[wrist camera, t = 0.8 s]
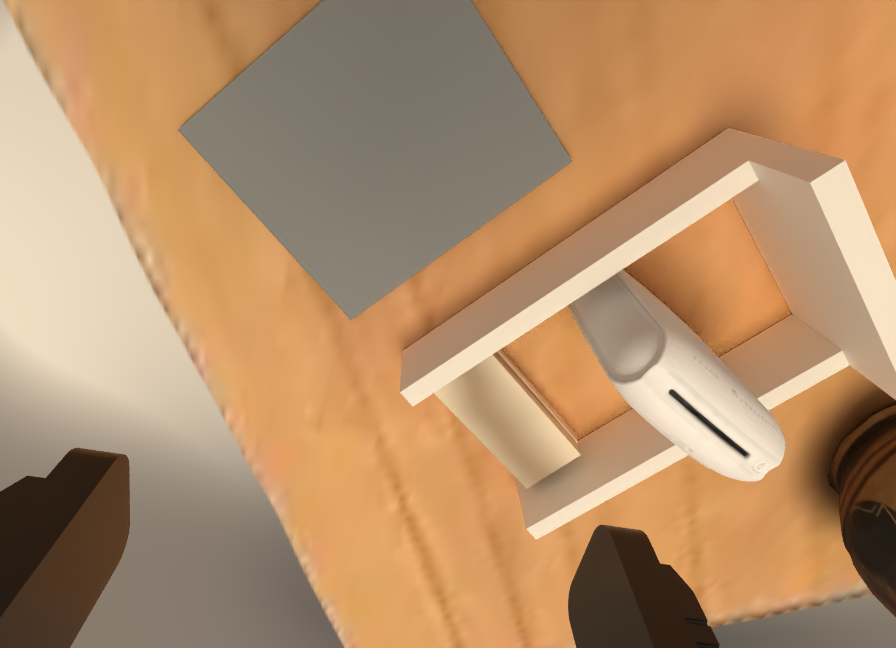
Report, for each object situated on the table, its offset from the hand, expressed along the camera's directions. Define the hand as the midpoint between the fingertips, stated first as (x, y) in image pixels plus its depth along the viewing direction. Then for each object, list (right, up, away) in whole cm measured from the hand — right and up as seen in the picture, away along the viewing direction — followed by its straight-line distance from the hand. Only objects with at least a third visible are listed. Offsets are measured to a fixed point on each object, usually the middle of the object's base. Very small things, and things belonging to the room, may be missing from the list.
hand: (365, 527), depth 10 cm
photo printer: (+13, +4, +28) cm, 31 cm away
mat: (-2, +13, +22) cm, 26 cm away
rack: (+12, +3, +28) cm, 31 cm away
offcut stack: (+5, -2, +30) cm, 31 cm away
